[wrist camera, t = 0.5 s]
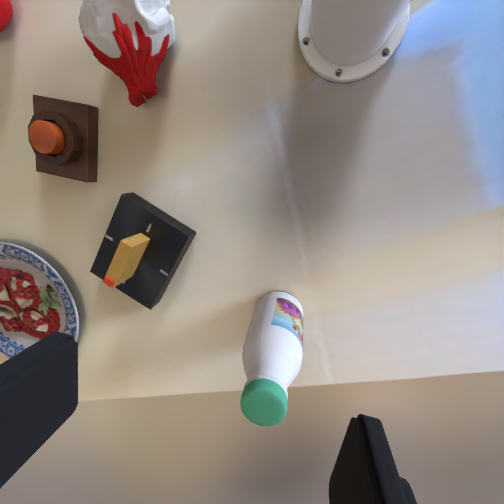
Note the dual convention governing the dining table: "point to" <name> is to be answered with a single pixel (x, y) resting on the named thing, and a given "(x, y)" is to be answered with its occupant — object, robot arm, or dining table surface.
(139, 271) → the plate
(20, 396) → the robot arm
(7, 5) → the fruit
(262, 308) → the milk bottle
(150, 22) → the white and red skull
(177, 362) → the dining table surface
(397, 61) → the dining table surface
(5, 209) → the dining table surface
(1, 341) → the ceramic plate
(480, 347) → the dining table surface
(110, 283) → the tap lever
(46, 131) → the button
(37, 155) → the button block
